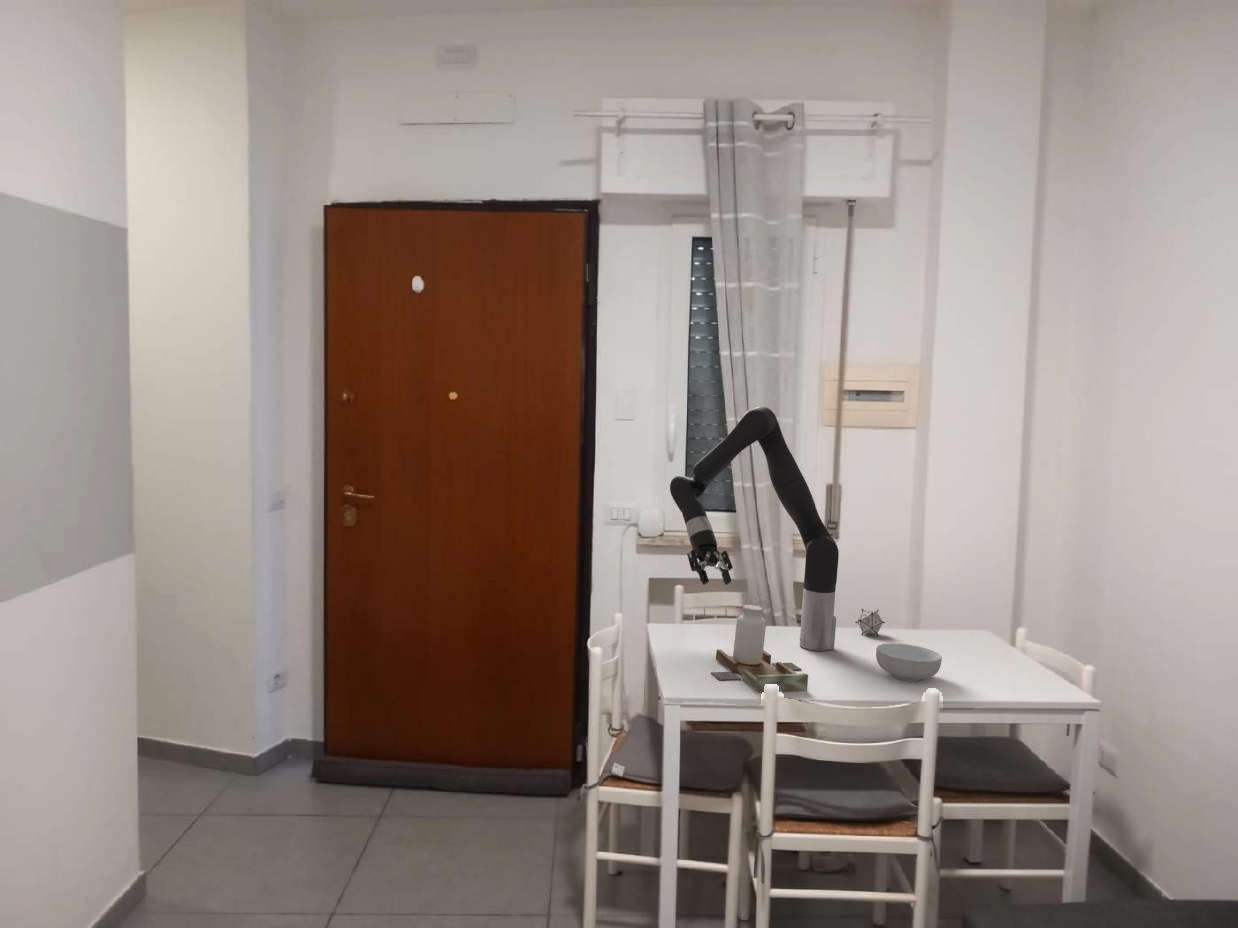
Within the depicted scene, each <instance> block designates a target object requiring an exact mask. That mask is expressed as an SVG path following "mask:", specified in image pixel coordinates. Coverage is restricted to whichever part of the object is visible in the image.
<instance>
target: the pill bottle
mask: <svg viewBox="0 0 1238 928" xmlns="http://www.w3.org/2000/svg"><path fill="white" fill-rule="evenodd" d="M763 611H764V608H763V607H762V606H759V605H754V604H745V605H743V606H742V614H740V615H739V616H737V618H736V624H735V625H736V626H735V632H734V642H733V643H734V644H733V652H732V653H733V654H732V656H733V659H734V660H735V661H737V662H739V663H742V664H747V665H757V664H760V663H761V662H762V656H763V650H764V647H765V644H764V643H765V639H766V638H765V637H766V628H767V622H766V620H765V618H763Z"/></svg>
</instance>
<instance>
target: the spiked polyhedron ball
mask: <svg viewBox="0 0 1238 928" xmlns="http://www.w3.org/2000/svg"><path fill="white" fill-rule="evenodd" d="M878 612H879V609H877V610H876V611H875V610H872V611H871V610H864V608H861V614H860V616H859V617H858V619H857V621H854V623H855V624H857V625H858V626H859V628H860V631H861V634H860V635H861V636H863V635H864V634H867V635H868V634H869V635H870V634H871V635H876V636H877V637H879V634H878V633H879V631H880V629H881V627H882V625H883V624H885V623H886V621H883V620H882V617H881V616H880V615H879V613H878Z"/></svg>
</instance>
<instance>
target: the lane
mask: <svg viewBox="0 0 1238 928" xmlns="http://www.w3.org/2000/svg"><path fill="white" fill-rule="evenodd" d="M715 654H716V655H715V659H716V660H717V661H718V662H720V663H721V664H722V665H724V666H725V667H726V668H727V669H728V670H730V671H711V672H710V674H711V675H712V676H713V677H714V678H715V679H716V680H718V681H720V682H723V681H741V680H742V681H743V682H744V683H745V684H746V685H747V686H749V687H750V688H751V689H753V690H754V691H755V692H757V693H760V694H761V693H765V692H764V686H765V684H777V685H778V686H779V692H778V693H784V692H785V693H787V692H803V691H804V692H807V691H808V684H809V683H808V682H809V674H808V673H797V671H802V668H800V667H798V666H797V665H796V664H795V663H793V662H781V661H776V662H771V661H772V654H770V653H769V652H767V651H765V650H764V649H763V656H762V662H761V663H760V664H757V665H747V664H742V663H739V662H737V661H735V660H734V659H733V655H728V654H727V653H725V651H723V650H722V649H716V653H715ZM736 673H737V674H738V675H737V674H736ZM739 675H740V676H741V677H742V678H741V677H739Z"/></svg>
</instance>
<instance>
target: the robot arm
mask: <svg viewBox="0 0 1238 928" xmlns="http://www.w3.org/2000/svg"><path fill="white" fill-rule="evenodd" d="M755 442H758V444H759V446H760V448H761V450H762V452H763V453H764V456H765V459H766V463H767V469H768V475H769V477H770V482H771V484H772V487H773V488H774V491H775V493H776V495H777V497H778V499H779V501H780V502H781V503H780V504H782V507H783V508H784V509H785V512H787V514H788V515H789V517H790V518H791V520H792V521H793V522H794V524H795V525H796V528H797V530H798V532H799V535H800V537H801V539H802V542H803V545H804V548H805V551H806V552H805V563H804V564H805V565H804V578H803V589H802V590H803V591H802V605H801V620H800V621H801V622H800V636H799V646H800V647H801V648H803V649H806V650H810V651H816V652H820V651H821V652H824V651H825V652H826V651H830V650H835V643H836V641H835V640H836V629H837V628H836V627H837V617H836V616H835V615H834V614H835V602H836V601H835V600H836V588H837V582H838V570H839V569H838V568H839V554H840V551H839V548H838V545H837V543H836V541H835V539H834V538H833V537H832V535H831V534H830V532H829V530H828V529H827V527H826V526H825V524H824V523H823V521H822V519H821V517H820V515H819V512H818V509H817V507H816V504H815V501H814V498H813V494H812V492H811V491H810V487H809V485H808V483H807V482H806V481H807V480H806V479H805V477H804V475H803V473H802V471H801V469H800V468H799V466H798V464H797V462H796V460H795V458H794V456H793V454H792V452H791V451H790V448H789V446H788V445H787V442H786V440H785V438H784V435H783V432H782V429H781V426H780V424H779V422H778V419H777V416H776V415H775V412H773V410H771V409H770V408H769V407H766V406H757V407H753V408H751V409H749V410H748V411H746V412H745V413H744V414H743V416H742V417H741V419H740V420H739V421H738V423H737V424H736V425H735V426H734V428H732V430H731V431H730V432H729V434H728V435H727V436H726V437H725V438H723V440H722V441H720V442H719V443H718V444H717V445H716V446H715V447H714V448H712V449H711V450H710V451H708V452H707V453H706V454H705V455H704V456H703V457H702V458H701V459H700V460H699V461H697V462H696V464H694V466H693V467H692V472H693V476H692V477H688V476H685V475H676V476H674V477H673V478H672V479H671V480H670V481H671V482H670V485H669V492H670V495H671V498H672V499H673V501H674V503H675V504H676V507H677V508H678V509H679V511H680V512H681V514H682V517H683V521H684V523H685V526H686V532H687V536H688V538H689V542H690V546H691V547H692V549H691V550H690V551H689V552H688V553H687V554H686V555H687V559H688V563H689V566H690V567H689V568H690V570H691V571H692V572H696V573H697V574H698V576H699V580H700V582H701V584H702V585H707V584H708V583H709V581H710V579H709V577H708V574H707V571H706V570H705V568H706V567H713V568H714V569H716V570H718V571H719V572H720V574H721V577H722V579H723V582H724V585H726V586H727V585H730V584H731V582H732V577H731V574H730V571H731V570H732V569H733V568H734V566H733V564H732V561H731V559H730V556H729V554H728V551H726V550H723V551H721V552H720V551H719V550H718V542H717V539H716V536H715V533H714V530H713V527H712V524H711V522H710V520H709V518H708V516H707V512H706V509H705V507H704V504H702V502H700V501H699V500H698V499H699V498H700V497H701V496H702V495H703V494H704V493H705V491H706V489H707V488H708V487H709V485H710V483H711V482H712V481H713V480H714V479H715V478H716V477H718V475H720V474H721V473H722V472H723V471H724V470H725V469H726V468H727V467H728V466H729V465H730V464H731V463H732V461H734V460H735V458H736V457H737V456H738V455H739V454H740V453H741V452H742V451H744V450H745V449H747V447H749V446H751V445H752V444H754V443H755Z"/></svg>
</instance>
